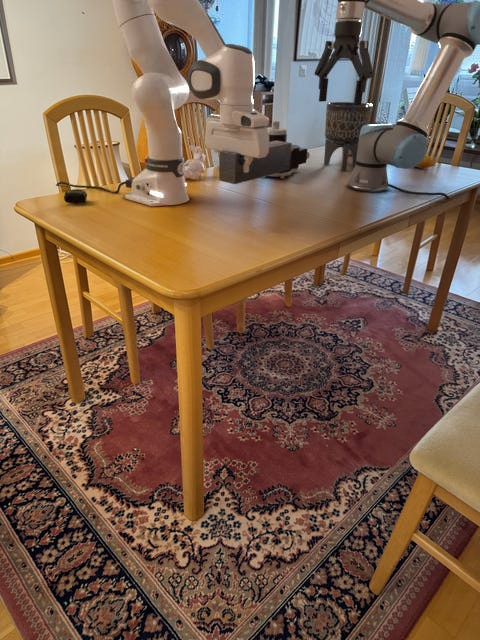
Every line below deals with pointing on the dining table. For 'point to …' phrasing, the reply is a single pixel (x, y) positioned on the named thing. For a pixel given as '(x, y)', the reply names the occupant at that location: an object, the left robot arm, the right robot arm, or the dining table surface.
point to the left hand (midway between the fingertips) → (235, 170)
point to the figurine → (194, 164)
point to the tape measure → (75, 196)
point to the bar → (254, 163)
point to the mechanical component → (297, 153)
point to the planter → (344, 129)
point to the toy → (426, 162)
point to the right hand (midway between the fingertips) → (339, 103)
